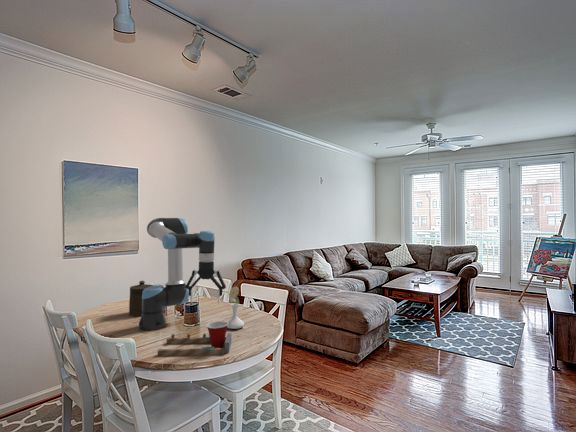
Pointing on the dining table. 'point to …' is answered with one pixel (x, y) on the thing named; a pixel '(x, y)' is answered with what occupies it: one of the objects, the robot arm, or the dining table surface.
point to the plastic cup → (217, 333)
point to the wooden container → (136, 299)
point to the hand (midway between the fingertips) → (205, 302)
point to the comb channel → (190, 351)
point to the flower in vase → (234, 311)
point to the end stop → (228, 343)
